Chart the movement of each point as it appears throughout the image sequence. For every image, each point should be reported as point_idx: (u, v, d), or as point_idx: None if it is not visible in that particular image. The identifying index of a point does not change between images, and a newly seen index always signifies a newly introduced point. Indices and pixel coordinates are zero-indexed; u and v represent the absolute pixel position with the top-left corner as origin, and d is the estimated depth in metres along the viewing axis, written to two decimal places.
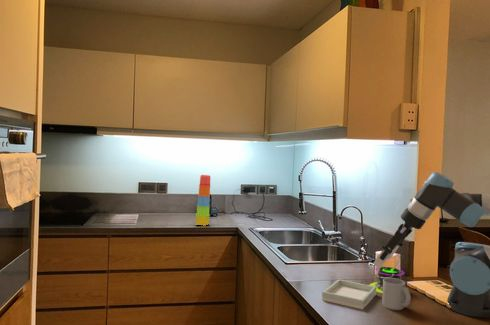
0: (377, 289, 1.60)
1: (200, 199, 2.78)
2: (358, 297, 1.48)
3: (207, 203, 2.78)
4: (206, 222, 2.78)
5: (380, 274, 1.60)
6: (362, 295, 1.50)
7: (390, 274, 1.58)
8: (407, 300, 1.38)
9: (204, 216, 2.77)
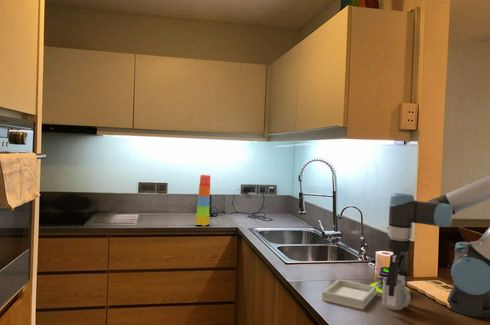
0: (378, 289, 1.60)
1: (200, 199, 2.78)
2: (358, 297, 1.48)
3: (207, 203, 2.78)
4: (206, 222, 2.78)
5: (381, 274, 1.60)
6: (362, 295, 1.50)
7: None
8: (407, 300, 1.38)
9: (204, 216, 2.77)
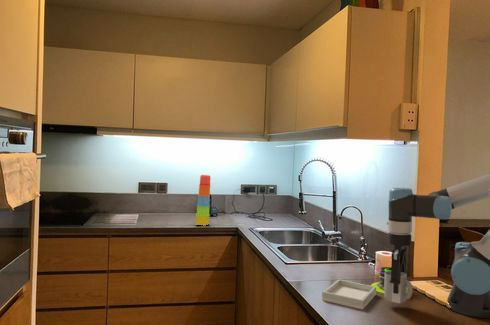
0: (379, 289, 1.60)
1: (200, 199, 2.78)
2: (358, 297, 1.48)
3: (207, 203, 2.78)
4: (206, 222, 2.78)
5: (382, 274, 1.60)
6: (362, 295, 1.50)
7: None
8: (409, 292, 1.37)
9: (204, 216, 2.77)
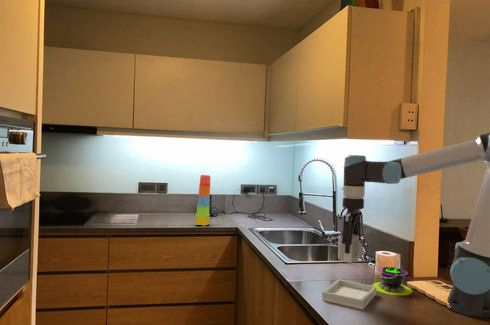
0: (380, 289, 1.60)
1: (200, 199, 2.78)
2: (358, 297, 1.48)
3: (207, 203, 2.78)
4: (206, 222, 2.78)
5: (383, 274, 1.60)
6: (362, 295, 1.50)
7: (393, 274, 1.58)
8: (360, 252, 1.46)
9: (204, 216, 2.77)
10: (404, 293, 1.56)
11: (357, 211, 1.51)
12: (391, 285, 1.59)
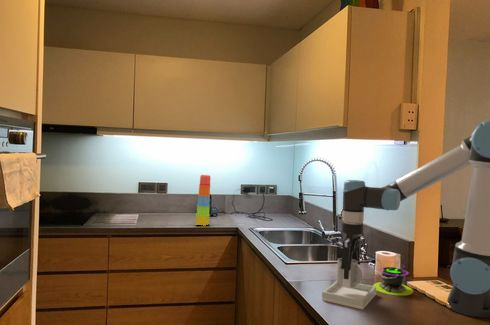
0: (381, 289, 1.60)
1: (200, 199, 2.78)
2: (358, 297, 1.48)
3: (207, 203, 2.78)
4: (206, 222, 2.78)
5: (384, 274, 1.60)
6: (362, 295, 1.50)
7: (394, 274, 1.58)
8: (358, 278, 1.46)
9: (204, 216, 2.77)
10: (405, 293, 1.56)
11: (356, 236, 1.51)
12: (392, 285, 1.59)
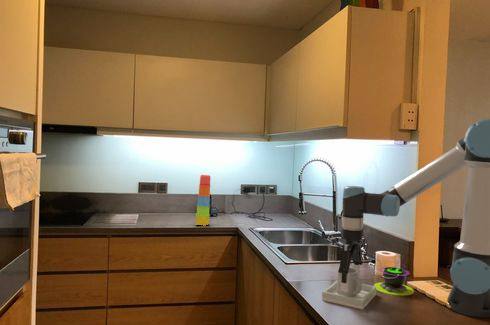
0: (382, 289, 1.60)
1: (200, 199, 2.78)
2: (358, 297, 1.48)
3: (207, 203, 2.78)
4: (206, 222, 2.78)
5: (385, 274, 1.60)
6: (362, 295, 1.50)
7: (395, 274, 1.58)
8: (358, 288, 1.46)
9: (204, 216, 2.77)
10: (406, 293, 1.56)
11: (356, 243, 1.51)
12: (393, 285, 1.59)
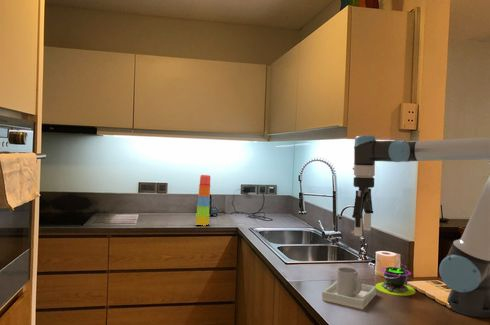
0: (383, 289, 1.60)
1: (200, 199, 2.78)
2: (358, 297, 1.48)
3: (207, 203, 2.78)
4: (206, 222, 2.78)
5: (386, 274, 1.60)
6: (362, 295, 1.50)
7: (397, 274, 1.58)
8: (358, 288, 1.46)
9: (204, 216, 2.77)
10: (407, 293, 1.56)
11: (367, 191, 1.55)
12: (394, 285, 1.59)
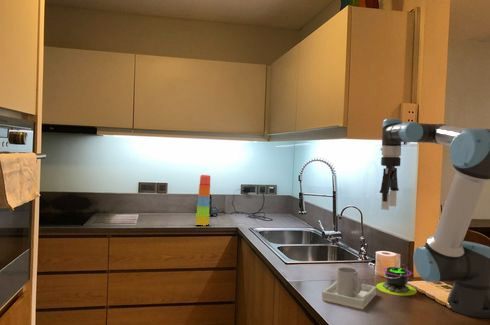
0: (385, 289, 1.60)
1: (200, 199, 2.78)
2: (358, 297, 1.48)
3: (207, 203, 2.78)
4: (206, 222, 2.78)
5: (388, 274, 1.60)
6: (362, 295, 1.50)
7: (398, 274, 1.58)
8: (358, 288, 1.46)
9: (204, 216, 2.77)
10: (408, 293, 1.56)
11: (394, 170, 1.71)
12: (395, 285, 1.59)
